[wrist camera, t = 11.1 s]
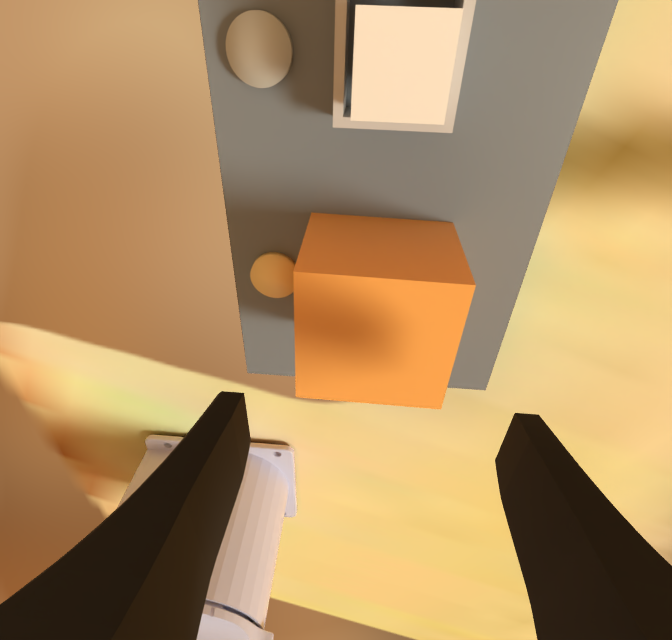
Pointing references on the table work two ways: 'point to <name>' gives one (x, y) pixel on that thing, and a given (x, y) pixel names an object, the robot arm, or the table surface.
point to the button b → (403, 63)
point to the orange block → (379, 309)
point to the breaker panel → (392, 148)
